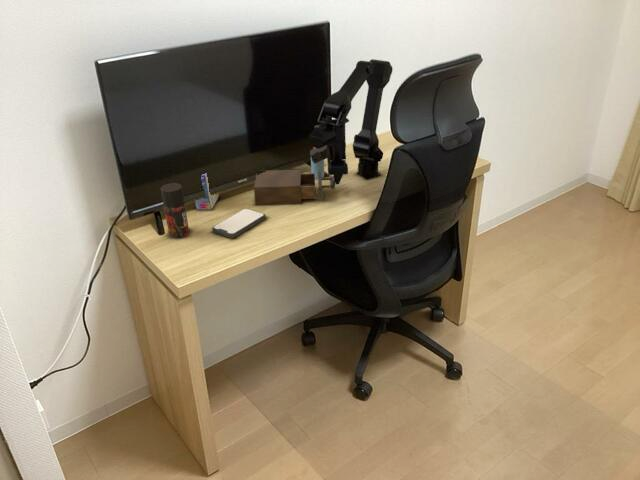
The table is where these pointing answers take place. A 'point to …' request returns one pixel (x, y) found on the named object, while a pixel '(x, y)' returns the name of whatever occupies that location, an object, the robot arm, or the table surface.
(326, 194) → the table surface
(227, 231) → the phone case
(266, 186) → the cabinet
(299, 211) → the table surface
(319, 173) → the drawer
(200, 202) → the ink cartridge box
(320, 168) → the glue bottle
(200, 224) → the table surface
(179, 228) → the deodorant
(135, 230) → the table surface
